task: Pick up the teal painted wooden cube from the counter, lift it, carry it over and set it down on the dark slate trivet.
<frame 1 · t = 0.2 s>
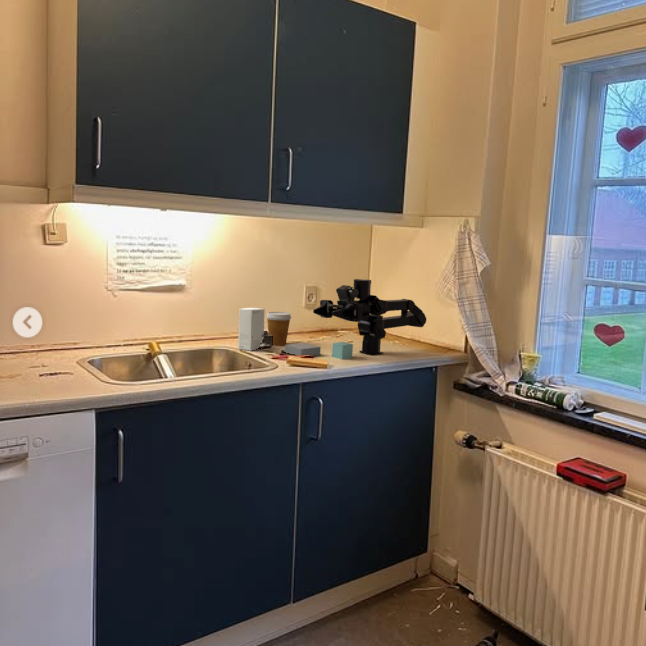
hand: (322, 312, 211), 16 cm above the worktop, tool horizontal, fingers open, 9 cm apart
teal cube: (342, 357, 221), on the worktop
skincare box: (250, 349, 228), on the worktop
disposable coffee cup: (277, 344, 239), on the worktop
slate trivet: (302, 354, 223), on the worktop
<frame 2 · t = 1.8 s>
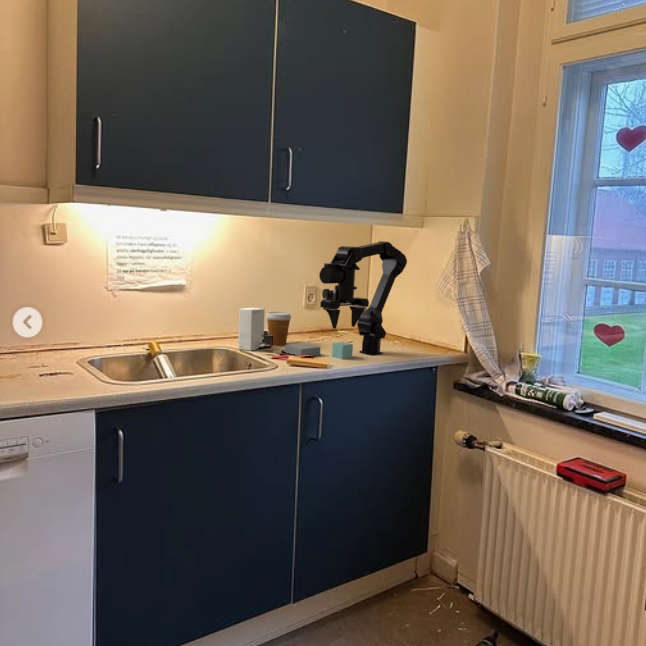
hand: (343, 327, 219), 11 cm above the worktop, tool pointing down, fingers open, 9 cm apart
nothing on the worktop moved.
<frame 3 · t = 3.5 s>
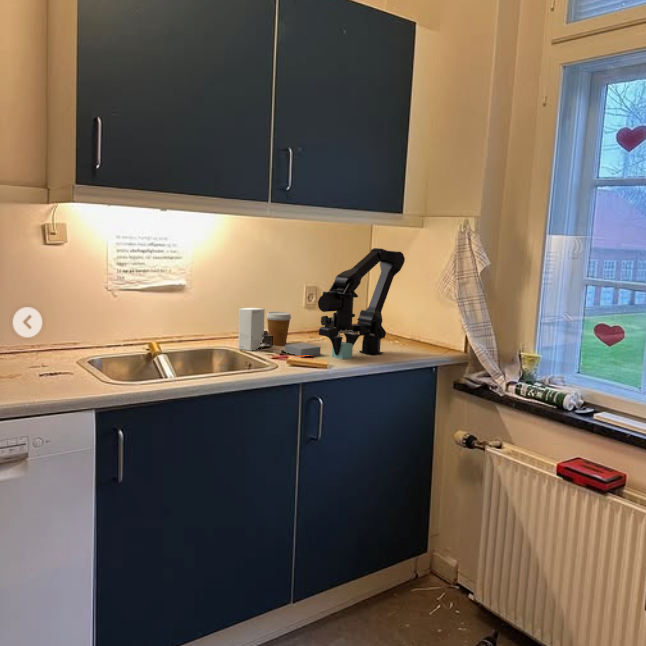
hand: (342, 354, 221), 1 cm above the worktop, tool pointing down, fingers closed on teal cube, 5 cm apart
teal cube: (342, 357, 221), on the worktop, touching gripper
everything else where it was.
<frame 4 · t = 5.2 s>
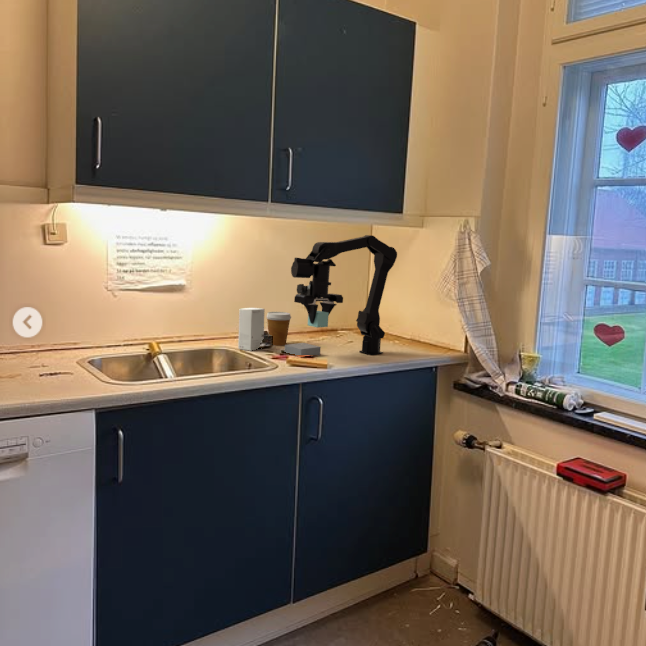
hand: (317, 323, 220), 12 cm above the worktop, tool pointing down, fingers closed on teal cube, 5 cm apart
teal cube: (317, 326, 220), point 11 cm above the worktop, touching gripper
everything else where it was.
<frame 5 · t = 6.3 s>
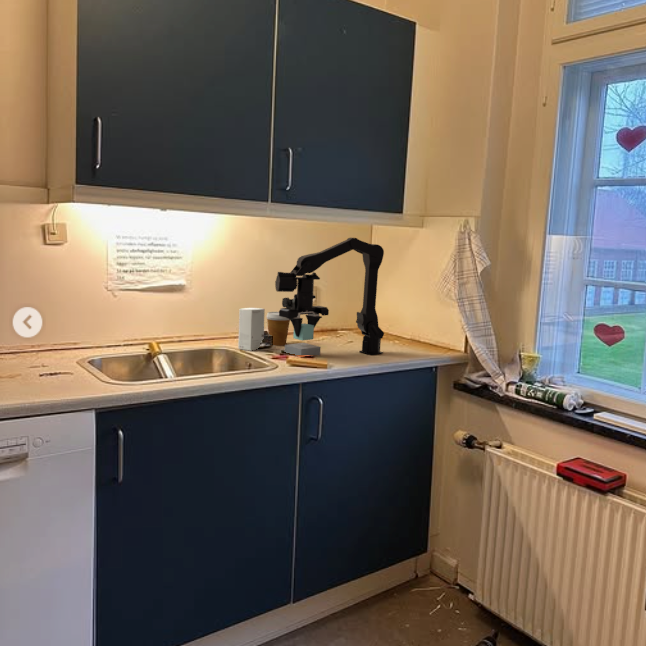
hand: (303, 336, 222), 7 cm above the worktop, tool pointing down, fingers closed on teal cube, 5 cm apart
teal cube: (303, 338, 222), point 6 cm above the worktop, touching gripper
everything else where it was.
when the fingers open (5 cm above the worktop, at t = 7.0 s): teal cube stays where it is, resting on slate trivet.
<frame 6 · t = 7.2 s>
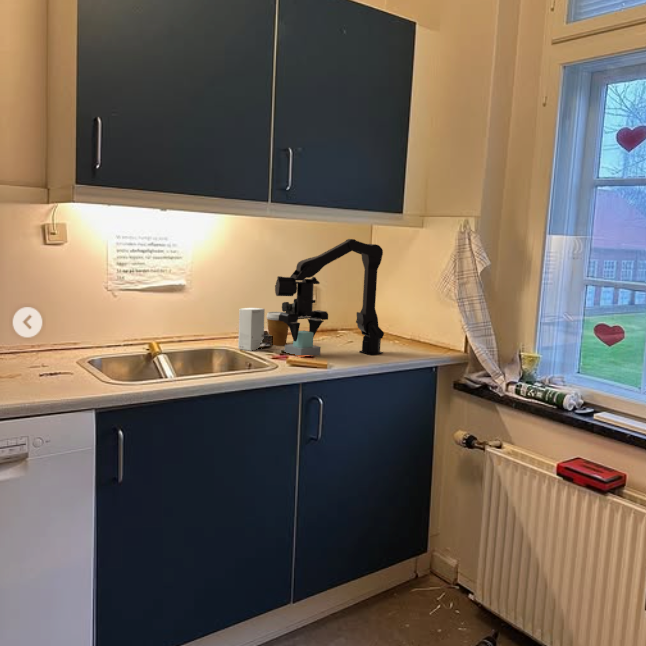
hand: (302, 340, 222), 5 cm above the worktop, tool pointing down, fingers open, 7 cm apart
teal cube: (302, 345, 222), point 3 cm above the worktop, touching slate trivet
everything else where it was.
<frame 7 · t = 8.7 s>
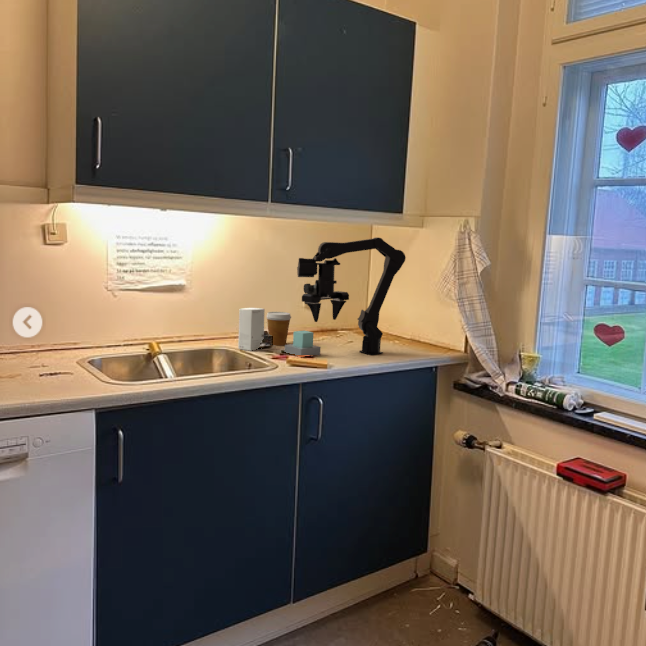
hand: (325, 320, 227), 12 cm above the worktop, tool pointing down, fingers open, 9 cm apart
nothing on the worktop moved.
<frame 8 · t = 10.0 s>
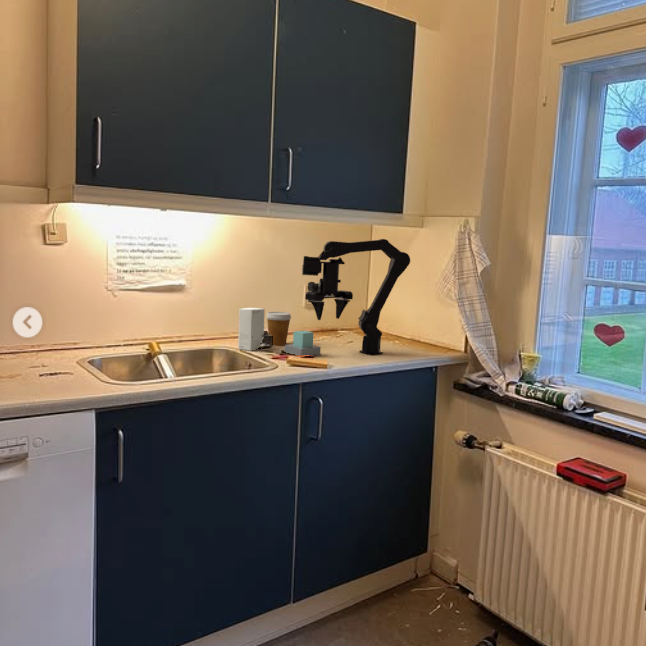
hand: (328, 319, 228), 12 cm above the worktop, tool pointing down, fingers open, 9 cm apart
nothing on the worktop moved.
at the end: teal cube inside the target area on the slate trivet (0.1 cm from its centre), point 3.0 cm above the slate trivet's base; teal cube tilted 0°; the gripper is holding nothing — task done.
